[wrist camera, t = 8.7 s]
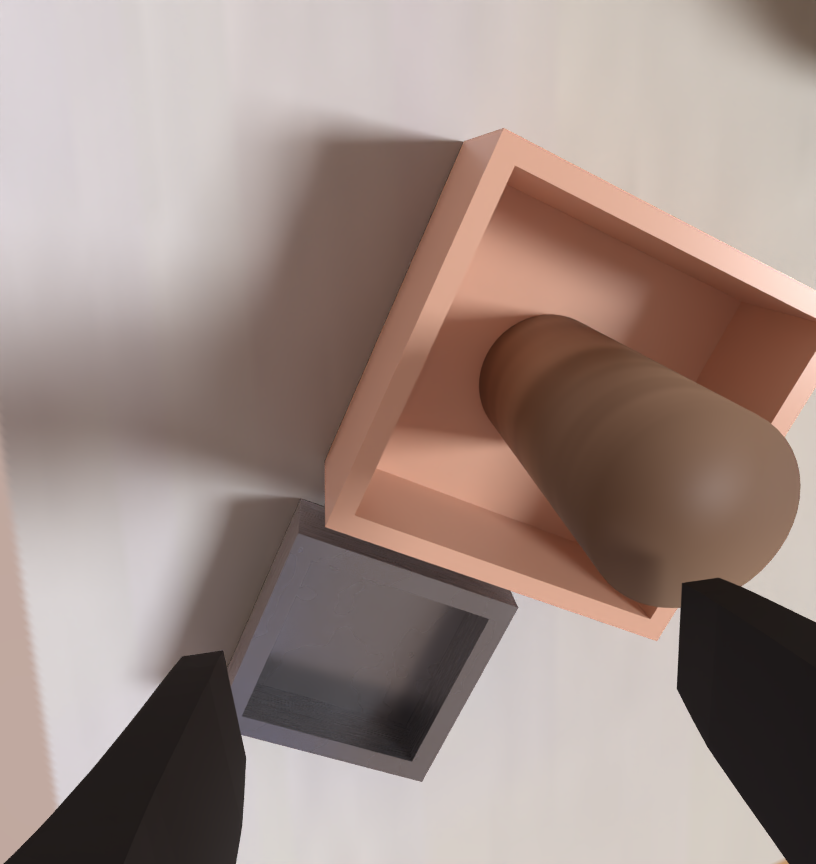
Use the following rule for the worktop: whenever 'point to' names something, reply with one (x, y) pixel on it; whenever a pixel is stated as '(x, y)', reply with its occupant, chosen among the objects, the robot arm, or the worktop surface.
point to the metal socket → (362, 649)
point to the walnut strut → (640, 459)
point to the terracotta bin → (521, 299)
